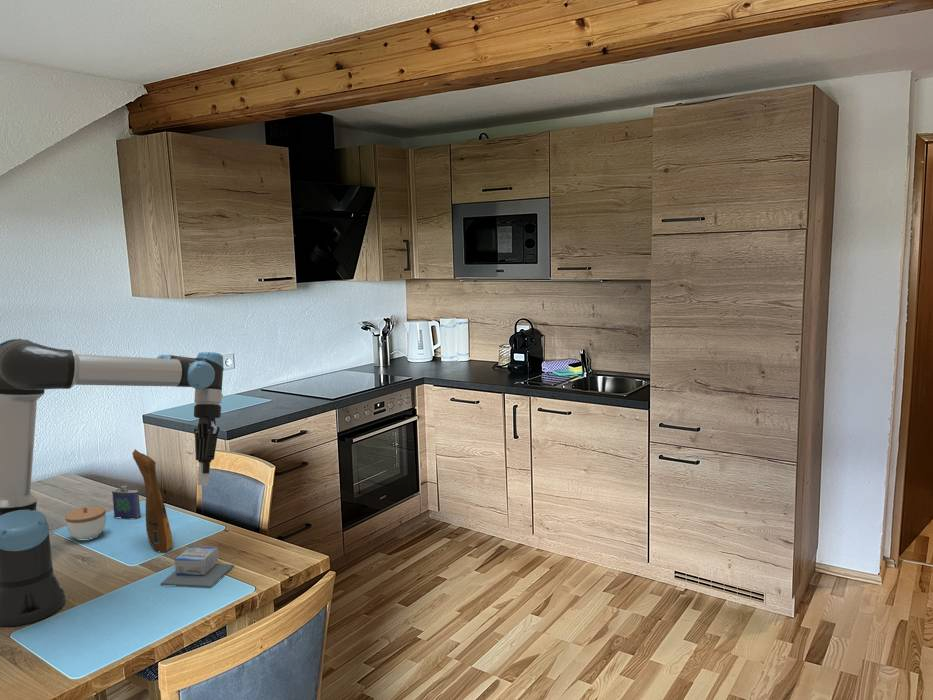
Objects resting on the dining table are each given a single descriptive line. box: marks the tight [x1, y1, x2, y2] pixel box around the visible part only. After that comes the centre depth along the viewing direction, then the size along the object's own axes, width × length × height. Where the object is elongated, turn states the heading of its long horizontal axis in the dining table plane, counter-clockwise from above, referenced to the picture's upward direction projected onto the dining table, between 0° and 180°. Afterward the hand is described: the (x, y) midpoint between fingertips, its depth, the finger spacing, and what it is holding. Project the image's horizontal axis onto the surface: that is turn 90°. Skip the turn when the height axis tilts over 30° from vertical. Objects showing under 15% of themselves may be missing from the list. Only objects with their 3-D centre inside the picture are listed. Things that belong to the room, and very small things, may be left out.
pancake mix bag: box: [132, 448, 173, 553], centre depth 203 cm, size 7×19×28 cm, turn 34°
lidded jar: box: [65, 506, 107, 540], centre depth 211 cm, size 11×11×9 cm
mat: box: [160, 563, 235, 588], centre depth 183 cm, size 12×14×1 cm
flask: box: [111, 484, 142, 519], centre depth 226 cm, size 9×3×11 cm, turn 79°
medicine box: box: [174, 545, 219, 576], centre depth 186 cm, size 8×4×9 cm
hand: (203, 485), depth 202 cm, fingers closed
